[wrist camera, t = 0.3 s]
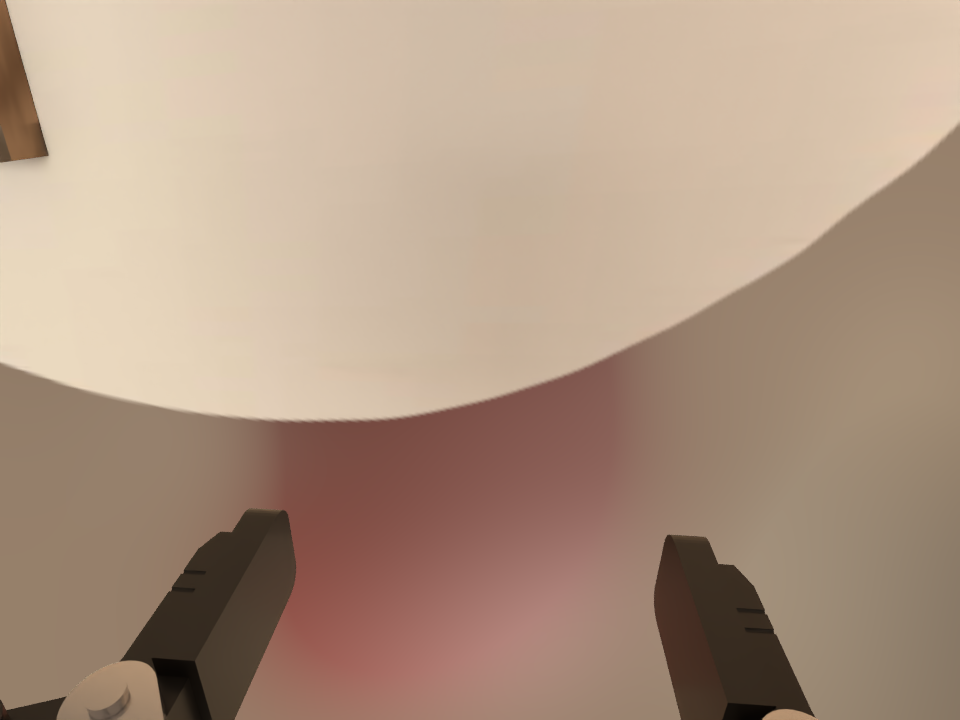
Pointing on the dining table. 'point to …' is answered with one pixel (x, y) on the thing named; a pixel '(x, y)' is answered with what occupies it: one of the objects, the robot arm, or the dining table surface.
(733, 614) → the robot arm
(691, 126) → the dining table surface
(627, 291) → the dining table surface
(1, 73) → the guide channel
